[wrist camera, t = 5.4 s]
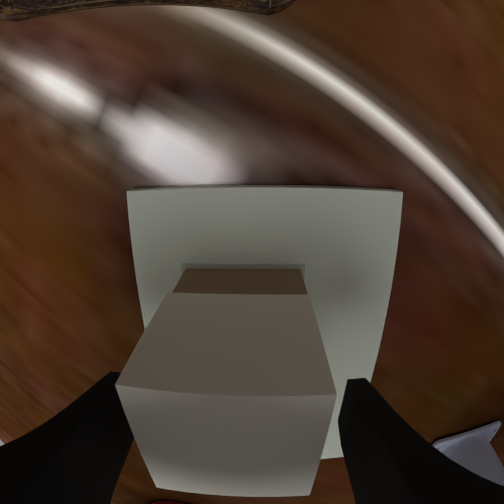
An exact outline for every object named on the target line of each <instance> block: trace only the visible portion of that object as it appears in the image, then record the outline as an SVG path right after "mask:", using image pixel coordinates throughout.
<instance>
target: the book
mask: <svg viewBox="0 0 504 504" xmlns="http://www.w3.org/2000/svg"><path fill="white" fill-rule="evenodd" d="M294 1H295V0H0V19H2V20H8V21H18V20H23V19H28V18H32V17H38V16H43V15H49V14H55V13H61V12H67V11H74V10H81V9H89V8H99V7H110V6H125V5H188V6H204V7H215V8H225V9H234V10H241V11H248V12H255V13H261V14H267V15H271V14H275V13H277V12H280V11H282V10H283V9H285V8H287V7H288V6H289V5H291V4H292V3H293V2H294Z"/></svg>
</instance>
